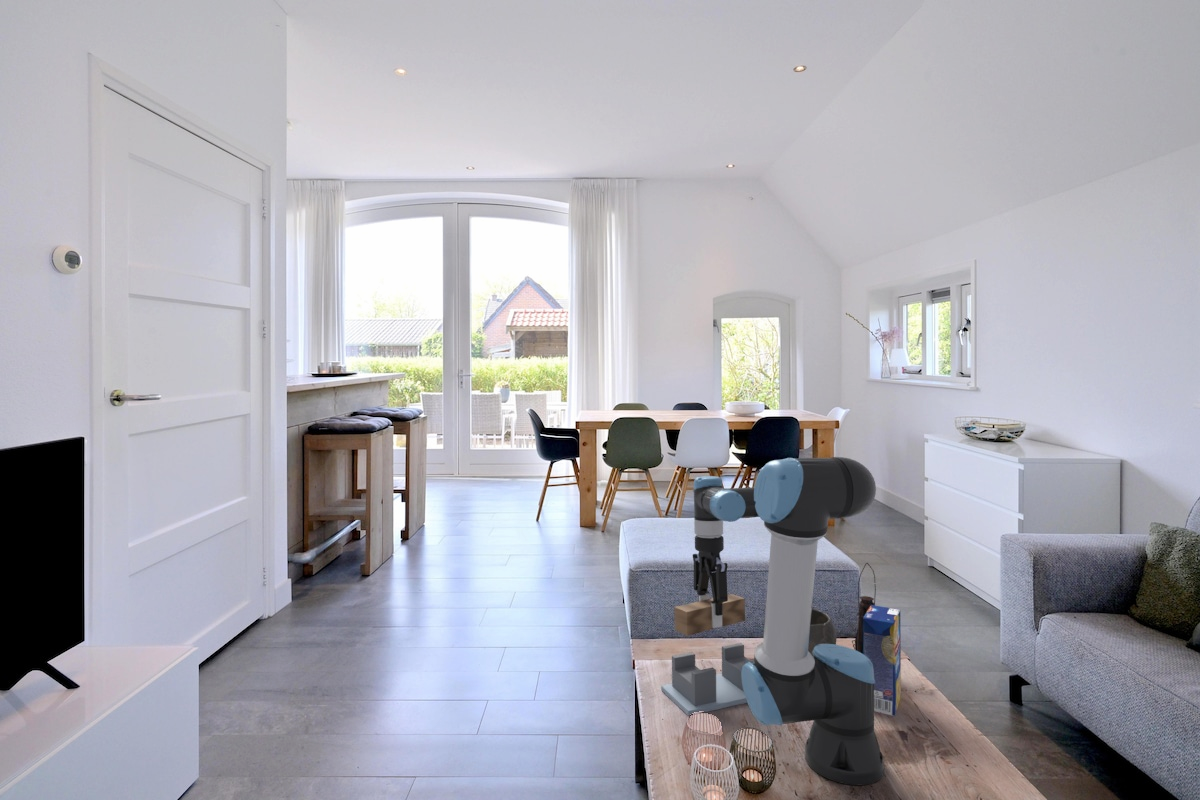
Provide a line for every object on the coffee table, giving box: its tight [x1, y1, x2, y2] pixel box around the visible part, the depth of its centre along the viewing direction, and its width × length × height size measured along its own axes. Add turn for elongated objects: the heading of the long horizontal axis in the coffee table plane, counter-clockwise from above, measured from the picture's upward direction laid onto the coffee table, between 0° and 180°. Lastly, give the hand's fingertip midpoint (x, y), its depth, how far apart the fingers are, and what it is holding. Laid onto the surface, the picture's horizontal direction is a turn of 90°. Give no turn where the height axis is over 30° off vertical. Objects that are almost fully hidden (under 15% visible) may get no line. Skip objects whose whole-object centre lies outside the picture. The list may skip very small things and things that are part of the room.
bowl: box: [808, 608, 837, 656], centre depth 181 cm, size 18×18×13 cm
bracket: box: [660, 642, 754, 717], centre depth 161 cm, size 14×26×9 cm, turn 112°
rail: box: [674, 593, 746, 637], centre depth 166 cm, size 20×5×6 cm, turn 122°
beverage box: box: [863, 604, 902, 717], centre depth 155 cm, size 7×11×22 cm, turn 148°
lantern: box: [851, 562, 877, 654], centre depth 171 cm, size 8×8×30 cm
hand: (710, 623), depth 166 cm, fingers closed on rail, 6 cm apart
